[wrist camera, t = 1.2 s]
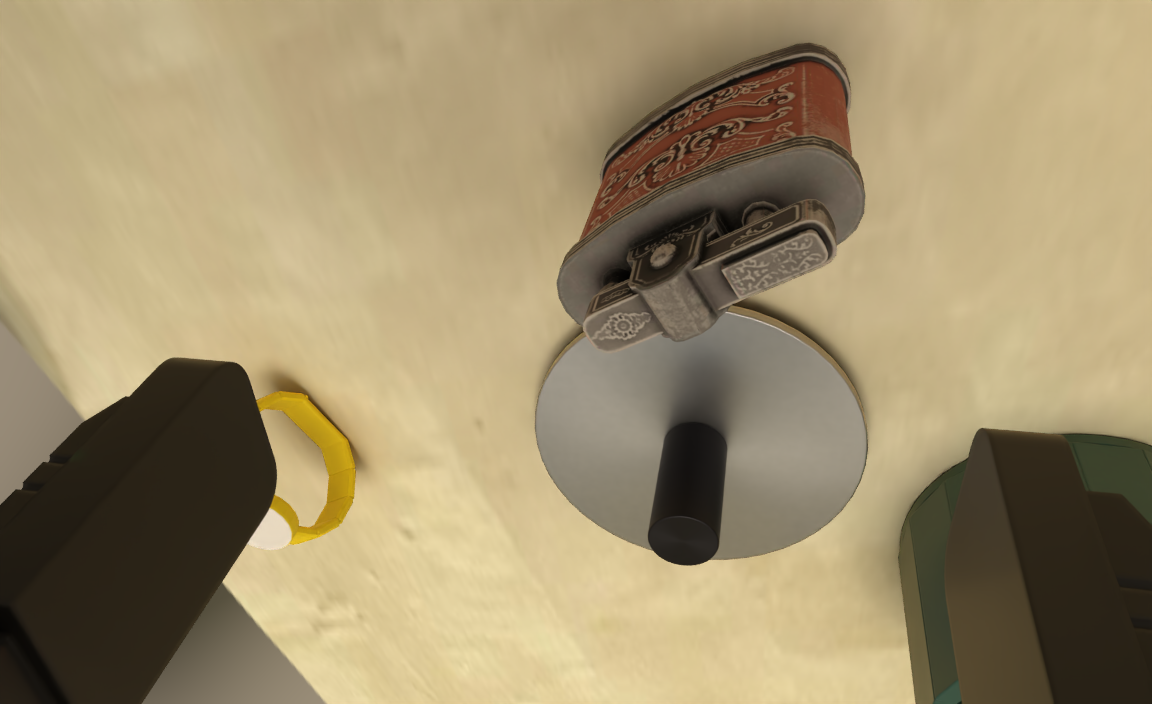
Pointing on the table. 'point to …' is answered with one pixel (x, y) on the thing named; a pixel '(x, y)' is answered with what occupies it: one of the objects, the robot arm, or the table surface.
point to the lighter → (717, 200)
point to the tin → (1103, 467)
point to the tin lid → (704, 438)
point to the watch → (281, 518)
